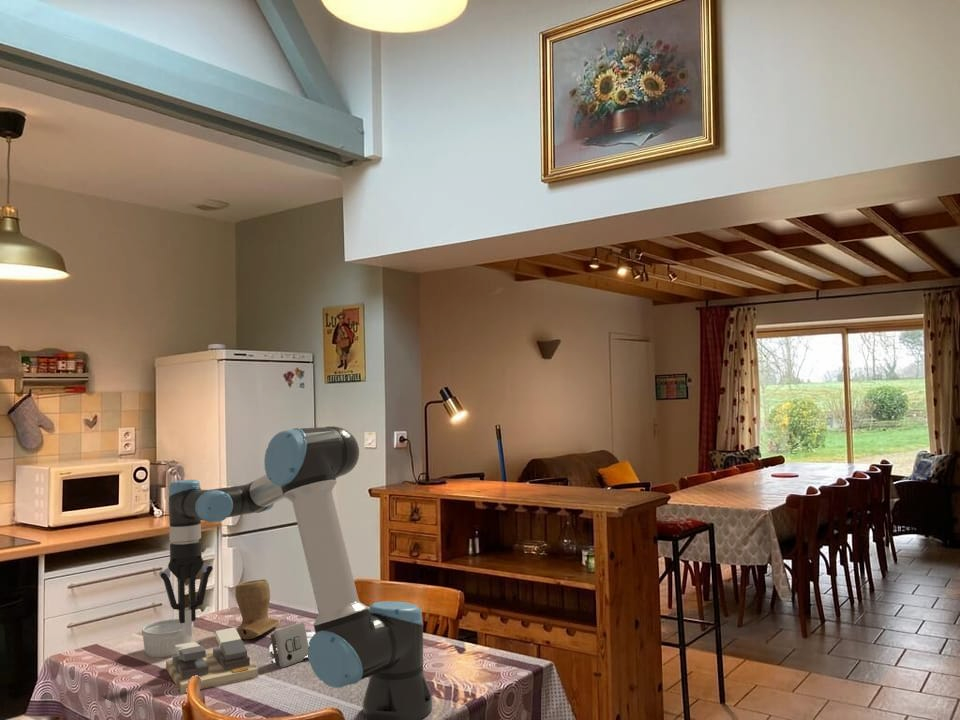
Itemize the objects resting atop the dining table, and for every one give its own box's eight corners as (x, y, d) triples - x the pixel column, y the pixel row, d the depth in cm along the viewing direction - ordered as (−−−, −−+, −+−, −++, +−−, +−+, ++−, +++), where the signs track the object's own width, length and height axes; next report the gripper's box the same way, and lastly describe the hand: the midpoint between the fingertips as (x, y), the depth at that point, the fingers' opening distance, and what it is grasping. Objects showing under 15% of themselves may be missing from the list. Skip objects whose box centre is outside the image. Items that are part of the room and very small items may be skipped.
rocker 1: (205, 660, 190) (205, 650, 191) (184, 664, 188) (184, 654, 188) (195, 651, 201) (195, 641, 201) (174, 655, 198) (174, 645, 198)
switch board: (257, 676, 193) (257, 660, 193) (181, 693, 184) (181, 676, 184) (236, 654, 210) (236, 639, 210) (165, 668, 201) (165, 652, 201)
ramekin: (202, 643, 220) (201, 618, 220) (179, 660, 207) (179, 633, 207) (157, 643, 221) (157, 618, 221) (132, 659, 208) (132, 633, 208)
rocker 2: (246, 659, 196) (247, 651, 196) (226, 663, 193) (226, 655, 193) (234, 635, 206) (235, 627, 206) (215, 639, 203) (215, 630, 203)
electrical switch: (282, 669, 198) (279, 631, 199) (269, 666, 201) (267, 630, 202) (311, 658, 205) (308, 622, 206) (298, 656, 209) (296, 621, 210)
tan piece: (249, 623, 237) (248, 574, 238) (284, 625, 234) (284, 575, 235) (221, 639, 222) (220, 586, 223) (258, 642, 220) (257, 588, 220)
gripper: (208, 536, 205) (210, 626, 204) (155, 542, 198) (157, 636, 197) (215, 540, 199) (217, 633, 198) (160, 547, 192) (162, 644, 191)
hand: (187, 634), depth 198 cm, fingers closed
